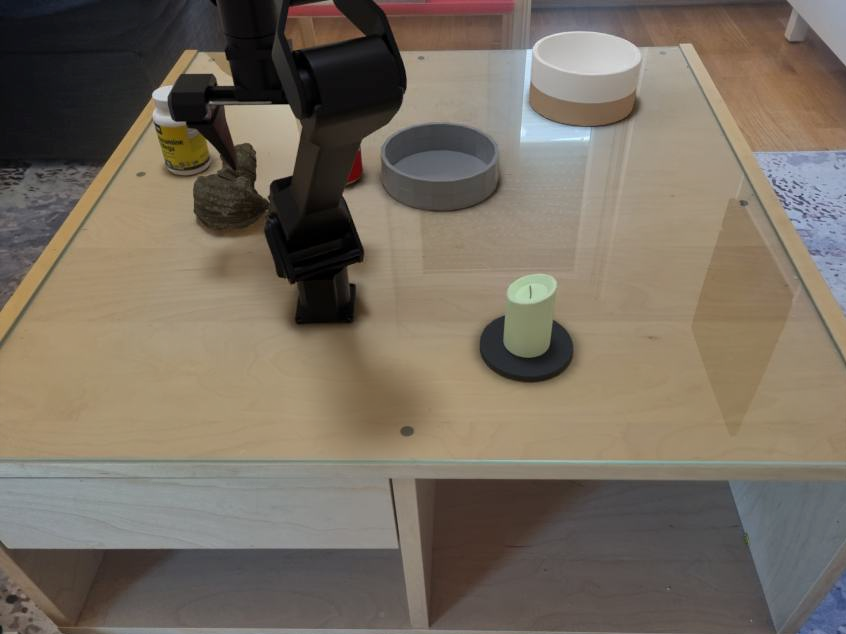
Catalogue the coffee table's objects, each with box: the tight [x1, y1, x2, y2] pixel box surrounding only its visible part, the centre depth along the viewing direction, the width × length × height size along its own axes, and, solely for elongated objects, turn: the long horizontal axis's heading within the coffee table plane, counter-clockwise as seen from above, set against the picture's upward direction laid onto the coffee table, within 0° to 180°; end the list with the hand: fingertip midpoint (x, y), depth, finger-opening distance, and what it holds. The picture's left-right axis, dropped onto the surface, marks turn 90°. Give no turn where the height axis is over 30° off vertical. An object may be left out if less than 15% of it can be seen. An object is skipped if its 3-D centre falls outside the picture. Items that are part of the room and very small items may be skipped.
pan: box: [380, 121, 501, 212], centre depth 104 cm, size 16×16×4 cm
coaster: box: [479, 314, 574, 382], centre depth 80 cm, size 10×10×1 cm
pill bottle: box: [151, 84, 212, 176], centre depth 104 cm, size 6×6×11 cm
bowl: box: [528, 30, 643, 127], centre depth 120 cm, size 17×17×8 cm
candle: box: [503, 273, 558, 358], centre depth 77 cm, size 5×5×8 cm
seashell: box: [192, 142, 270, 232], centre depth 95 cm, size 11×12×10 cm
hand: (277, 168), depth 84 cm, fingers open, 9 cm apart
